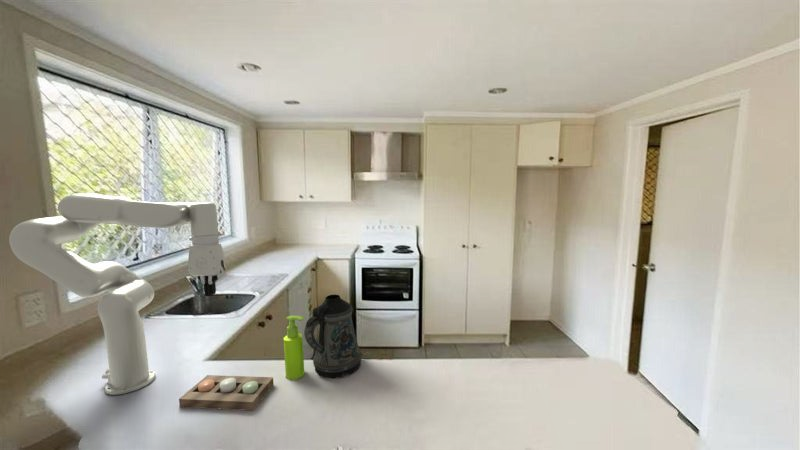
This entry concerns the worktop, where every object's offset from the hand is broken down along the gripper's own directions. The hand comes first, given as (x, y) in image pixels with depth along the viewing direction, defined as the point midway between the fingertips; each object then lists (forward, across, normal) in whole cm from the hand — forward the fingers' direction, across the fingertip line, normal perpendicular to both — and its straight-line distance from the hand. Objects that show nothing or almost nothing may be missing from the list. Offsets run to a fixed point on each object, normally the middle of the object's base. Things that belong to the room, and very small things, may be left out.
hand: (210, 294), depth 108 cm
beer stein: (+27, +40, +5) cm, 49 cm away
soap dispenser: (+27, +28, 0) cm, 39 cm away
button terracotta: (+26, +5, -12) cm, 29 cm away
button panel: (+27, +12, -12) cm, 32 cm away
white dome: (+25, +12, -12) cm, 30 cm away
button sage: (+26, +19, -12) cm, 34 cm away
